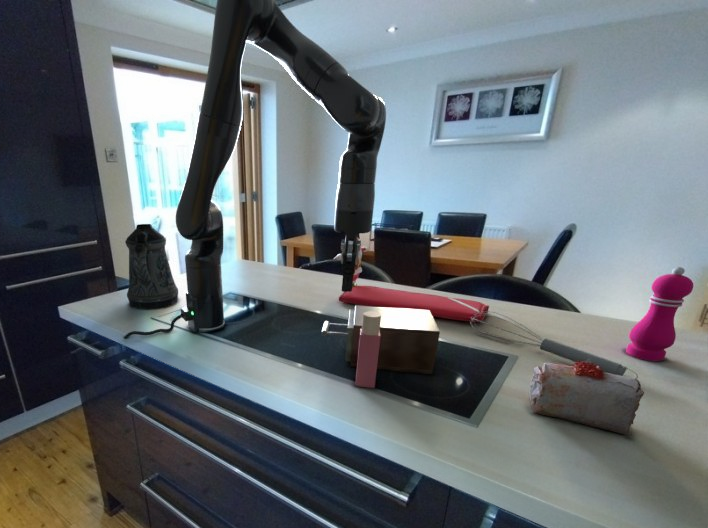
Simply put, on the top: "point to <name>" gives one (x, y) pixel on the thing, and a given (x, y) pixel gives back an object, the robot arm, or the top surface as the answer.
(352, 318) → the drawer
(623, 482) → the top surface
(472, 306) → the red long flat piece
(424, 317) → the cabinet
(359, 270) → the santa figurine
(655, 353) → the pepper mill
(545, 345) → the kitchen whisk
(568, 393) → the food item
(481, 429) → the top surface
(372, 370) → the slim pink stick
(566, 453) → the top surface
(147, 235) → the beer stein
